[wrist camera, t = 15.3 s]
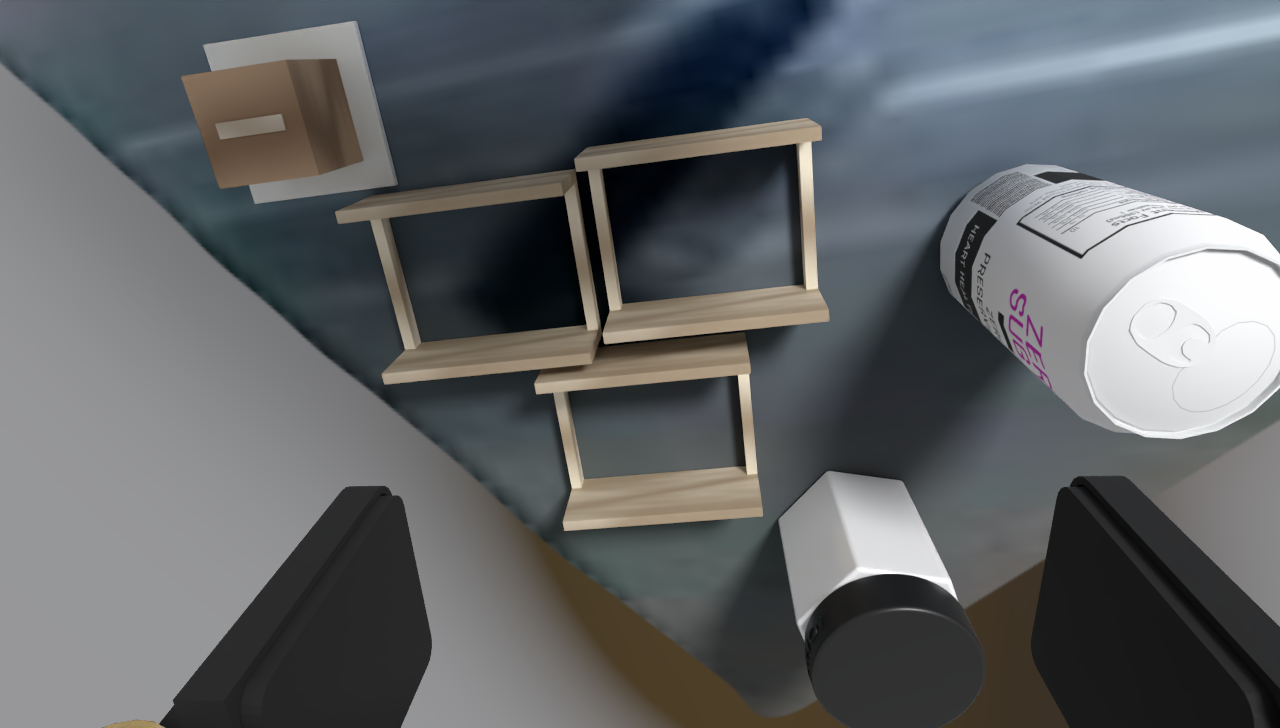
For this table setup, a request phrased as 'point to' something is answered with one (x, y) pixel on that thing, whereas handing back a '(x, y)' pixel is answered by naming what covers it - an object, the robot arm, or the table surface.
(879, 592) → the jar
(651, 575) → the table surface
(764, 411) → the table surface
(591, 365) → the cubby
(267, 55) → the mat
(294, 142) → the letter cube
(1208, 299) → the supplement can
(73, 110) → the table surface
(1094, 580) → the robot arm
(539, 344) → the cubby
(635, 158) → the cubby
